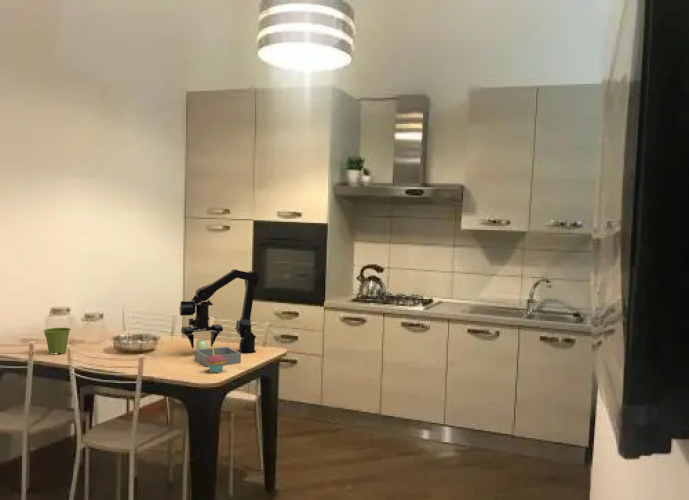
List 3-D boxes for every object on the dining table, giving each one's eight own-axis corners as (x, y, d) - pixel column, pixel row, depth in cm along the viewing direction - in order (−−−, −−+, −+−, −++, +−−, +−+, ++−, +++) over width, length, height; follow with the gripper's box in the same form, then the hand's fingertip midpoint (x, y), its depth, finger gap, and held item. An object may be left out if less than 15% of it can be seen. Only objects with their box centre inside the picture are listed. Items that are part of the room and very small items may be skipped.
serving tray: (227, 356, 295) (228, 346, 295) (240, 363, 281) (240, 353, 281) (194, 359, 287) (194, 350, 286) (206, 367, 273) (206, 356, 273)
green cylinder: (205, 353, 300) (205, 339, 300) (208, 355, 296) (208, 341, 295) (195, 354, 297) (195, 340, 297) (198, 356, 293) (198, 341, 293)
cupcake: (215, 374, 260) (216, 346, 259) (201, 371, 264) (201, 343, 264) (230, 370, 267) (230, 343, 267) (215, 368, 272) (215, 340, 271)
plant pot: (45, 351, 299) (45, 327, 298) (72, 350, 302) (72, 327, 301) (41, 356, 287) (41, 332, 287) (69, 355, 291) (68, 331, 290)
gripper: (215, 311, 307) (215, 342, 308) (177, 313, 298) (177, 346, 298) (223, 314, 298) (223, 346, 299) (184, 317, 288) (184, 350, 289)
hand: (202, 347), depth 296 cm, fingers open, 9 cm apart
